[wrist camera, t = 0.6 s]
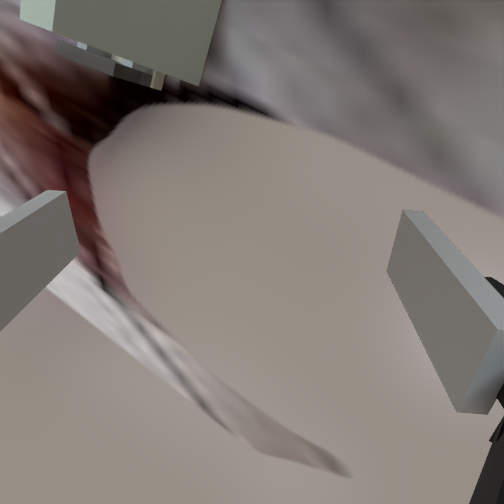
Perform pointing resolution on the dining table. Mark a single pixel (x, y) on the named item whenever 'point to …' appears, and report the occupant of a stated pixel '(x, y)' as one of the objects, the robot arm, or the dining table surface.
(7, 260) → the robot arm
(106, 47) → the flat rectangular panel
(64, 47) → the cradle
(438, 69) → the dining table surface
